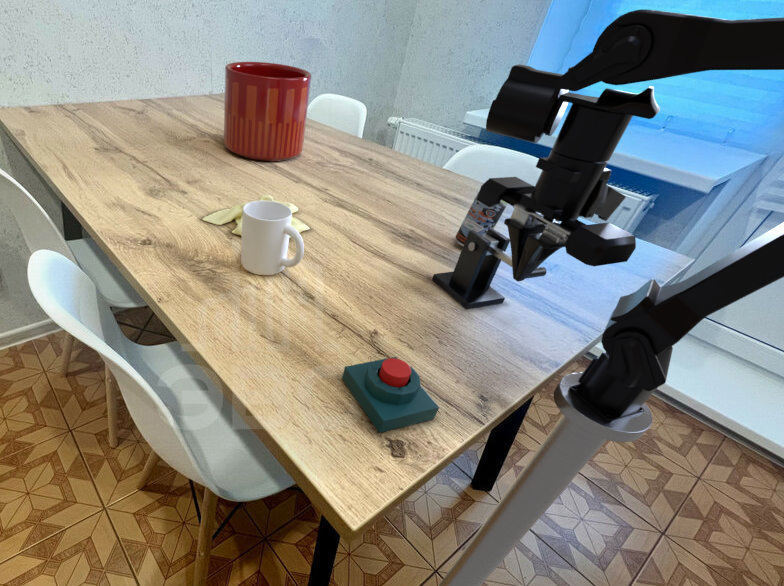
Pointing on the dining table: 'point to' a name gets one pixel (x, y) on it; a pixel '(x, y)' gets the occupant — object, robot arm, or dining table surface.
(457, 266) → the bracket
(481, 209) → the beverage can
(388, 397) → the button block
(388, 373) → the button
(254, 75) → the planter
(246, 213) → the mug
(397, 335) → the dining table surface
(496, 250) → the lever
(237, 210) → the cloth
